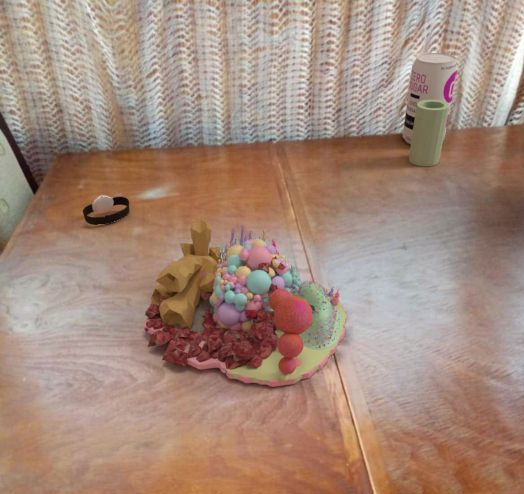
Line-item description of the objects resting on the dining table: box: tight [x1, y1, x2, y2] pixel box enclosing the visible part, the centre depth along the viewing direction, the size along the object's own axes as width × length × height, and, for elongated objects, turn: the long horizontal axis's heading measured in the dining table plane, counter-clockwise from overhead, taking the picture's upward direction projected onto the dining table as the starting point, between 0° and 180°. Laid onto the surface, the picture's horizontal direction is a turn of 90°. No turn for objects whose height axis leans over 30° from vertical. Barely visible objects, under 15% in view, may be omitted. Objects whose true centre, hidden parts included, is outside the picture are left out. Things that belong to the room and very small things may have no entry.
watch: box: [82, 194, 131, 226], centre depth 87 cm, size 8×5×4 cm, turn 124°
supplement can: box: [402, 52, 459, 145], centre depth 103 cm, size 8×8×15 cm
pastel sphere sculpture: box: [142, 220, 347, 388], centre depth 65 cm, size 25×24×9 cm
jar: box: [408, 100, 450, 167], centre depth 97 cm, size 6×6×10 cm
